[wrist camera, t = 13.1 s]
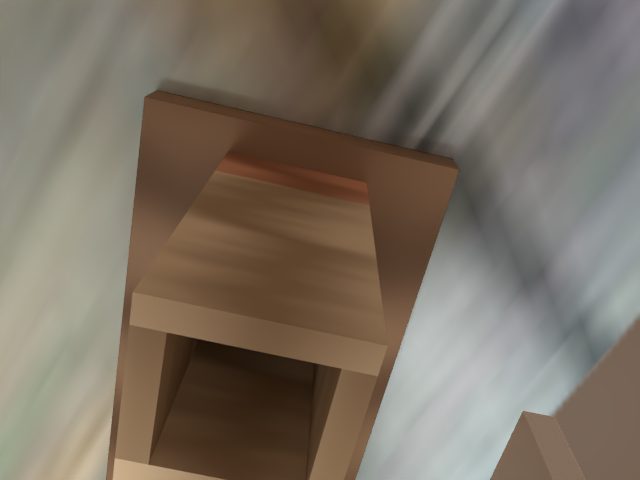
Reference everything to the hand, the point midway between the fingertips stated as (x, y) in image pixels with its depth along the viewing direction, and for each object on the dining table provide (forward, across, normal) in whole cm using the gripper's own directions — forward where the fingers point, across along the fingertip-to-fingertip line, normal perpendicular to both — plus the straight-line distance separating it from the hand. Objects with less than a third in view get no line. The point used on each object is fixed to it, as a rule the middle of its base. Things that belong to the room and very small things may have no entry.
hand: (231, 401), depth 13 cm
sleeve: (+11, 0, 0) cm, 11 cm away
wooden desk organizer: (+12, 0, -6) cm, 14 cm away
